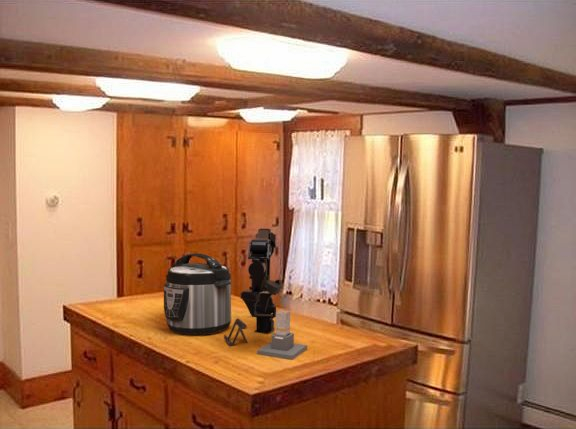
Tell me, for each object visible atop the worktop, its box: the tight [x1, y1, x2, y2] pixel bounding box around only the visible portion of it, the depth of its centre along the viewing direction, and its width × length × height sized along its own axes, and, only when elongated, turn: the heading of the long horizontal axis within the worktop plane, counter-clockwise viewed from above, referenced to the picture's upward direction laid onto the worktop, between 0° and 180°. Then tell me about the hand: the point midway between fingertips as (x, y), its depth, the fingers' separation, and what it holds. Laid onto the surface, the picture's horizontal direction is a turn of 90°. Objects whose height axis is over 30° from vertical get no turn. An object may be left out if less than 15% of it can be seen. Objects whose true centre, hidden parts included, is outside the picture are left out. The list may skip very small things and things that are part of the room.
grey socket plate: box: [256, 332, 308, 361], centre depth 217 cm, size 14×14×6 cm
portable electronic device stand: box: [223, 318, 248, 347], centre depth 228 cm, size 9×8×8 cm
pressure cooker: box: [163, 252, 232, 336], centre depth 246 cm, size 30×28×32 cm
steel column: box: [274, 309, 291, 337], centre depth 217 cm, size 4×4×9 cm
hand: (258, 314), depth 220 cm, fingers open, 9 cm apart
